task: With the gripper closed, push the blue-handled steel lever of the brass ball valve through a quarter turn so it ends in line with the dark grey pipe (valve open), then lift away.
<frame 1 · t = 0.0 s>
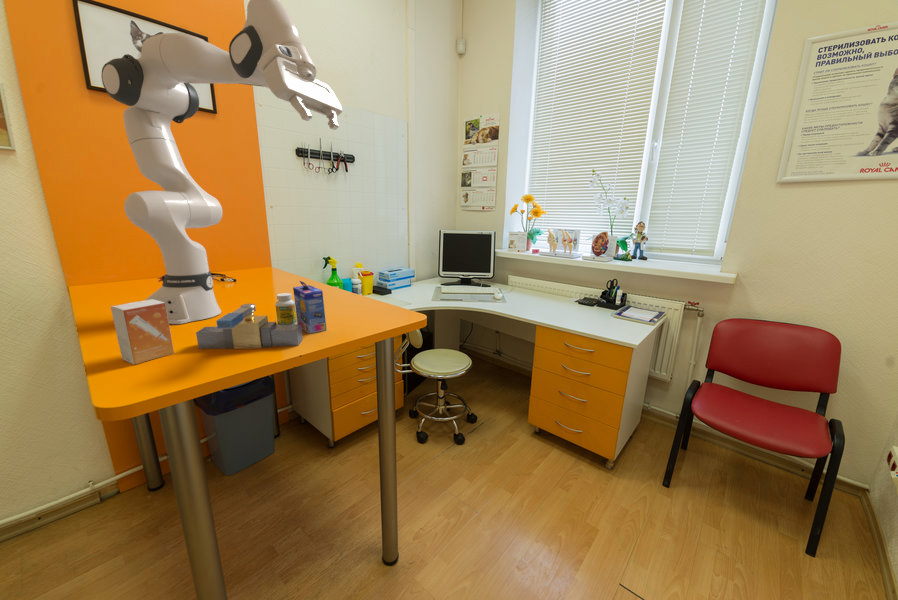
hand: (322, 123, 83), 54 cm above the table, tool tilted 30°, fingers open, 8 cm apart
ink cartridge box: (311, 328, 106), on the table
supplement bottle: (287, 325, 109), on the table
lever: (238, 314, 85), point 10 cm above the table, hinge at 0.0°
small box: (149, 357, 84), on the table
valve pipe: (252, 344, 93), on the table
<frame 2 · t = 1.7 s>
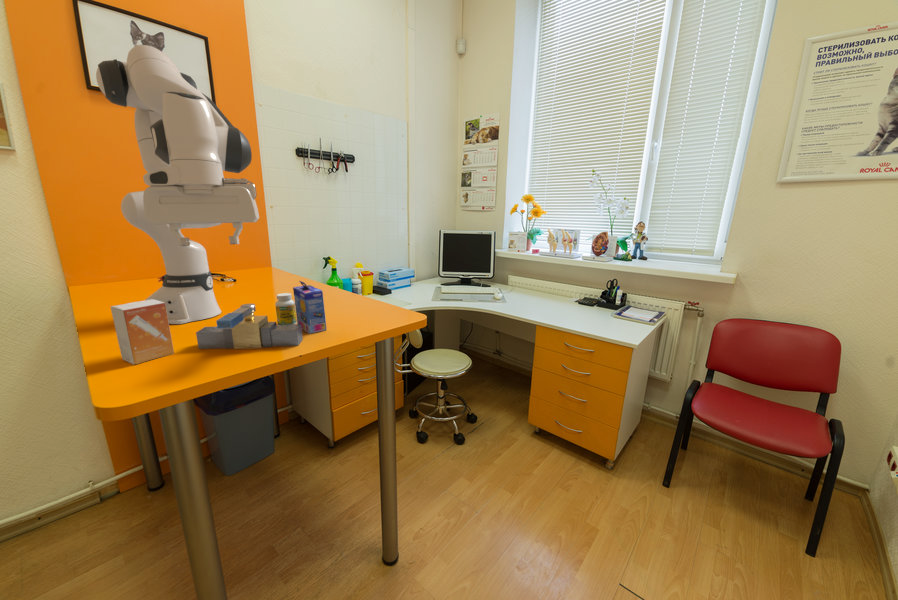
hand: (210, 245, 76), 27 cm above the table, tool pointing down, fingers open, 8 cm apart
nothing on the table moved.
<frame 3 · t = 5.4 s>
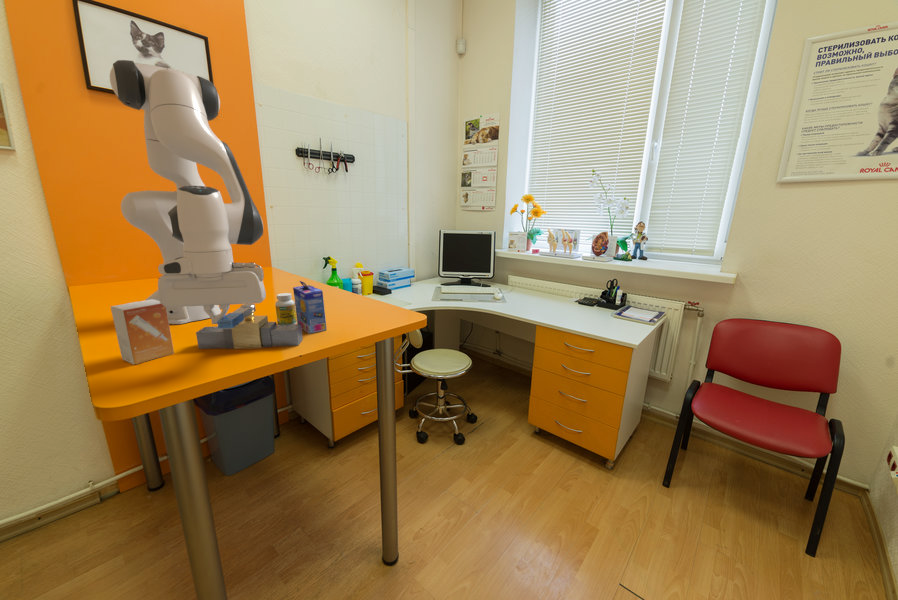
hand: (219, 323, 81), 9 cm above the table, tool pointing down, fingers closed
lever: (238, 314, 85), point 10 cm above the table, hinge at 0.8°, touching gripper
everything else where it was.
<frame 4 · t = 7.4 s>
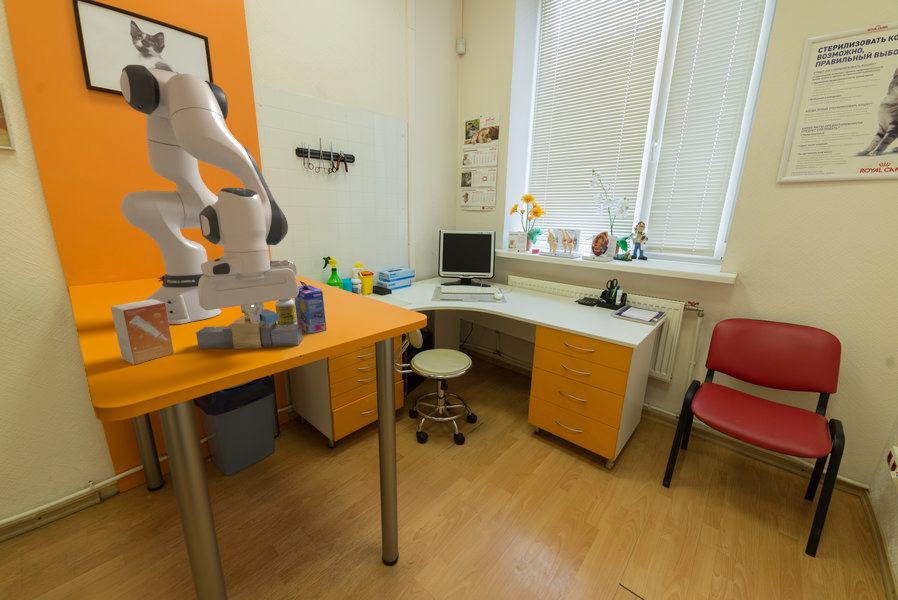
hand: (255, 321, 83), 9 cm above the table, tool pointing down, fingers closed
lever: (258, 312, 87), point 10 cm above the table, hinge at 43.5°, touching gripper
everything else where it was.
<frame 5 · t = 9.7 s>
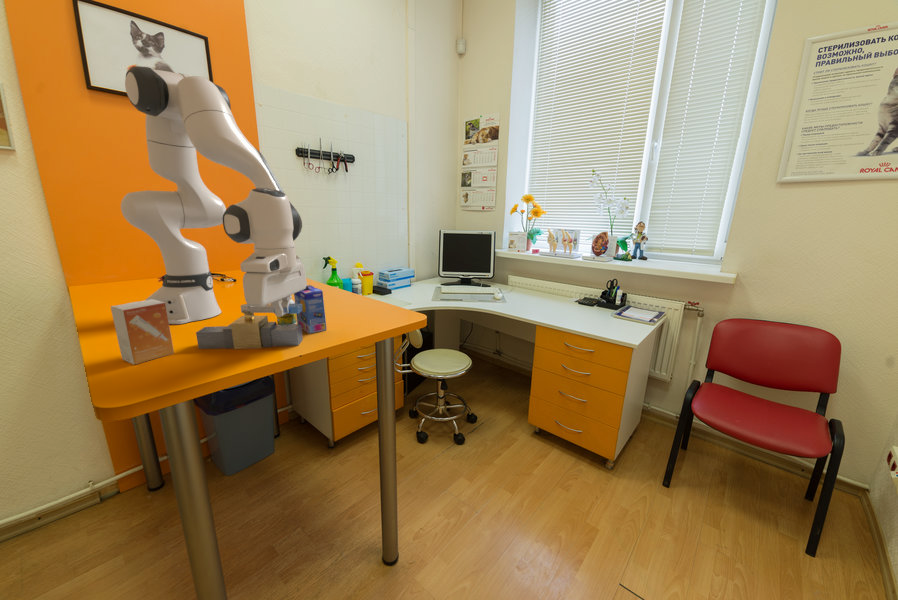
hand: (282, 314, 88), 9 cm above the table, tool pointing down, fingers closed
lever: (271, 308, 91), point 10 cm above the table, hinge at 85.1°
everything else where it was.
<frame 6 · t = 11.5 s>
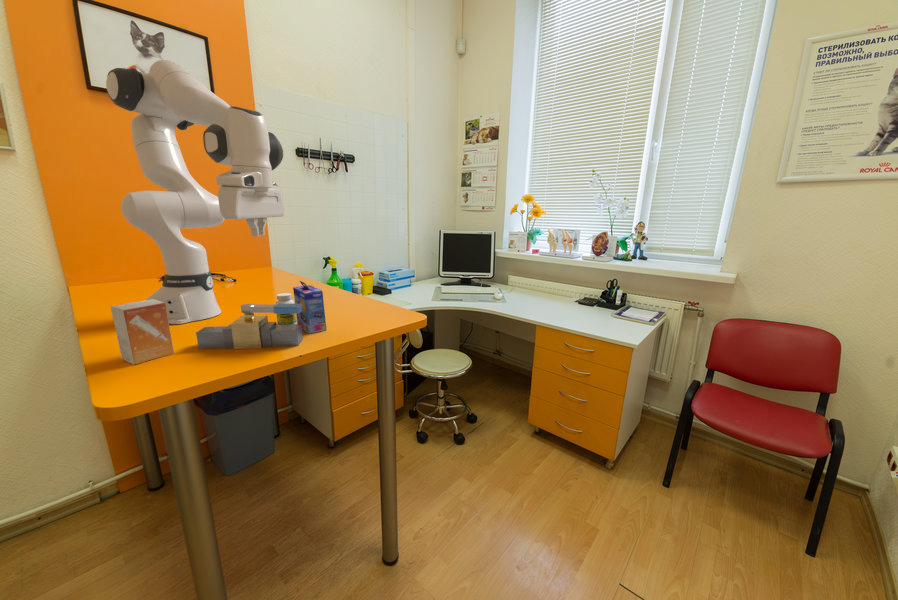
hand: (258, 235, 92), 28 cm above the table, tool pointing down, fingers closed
nothing on the table moved.
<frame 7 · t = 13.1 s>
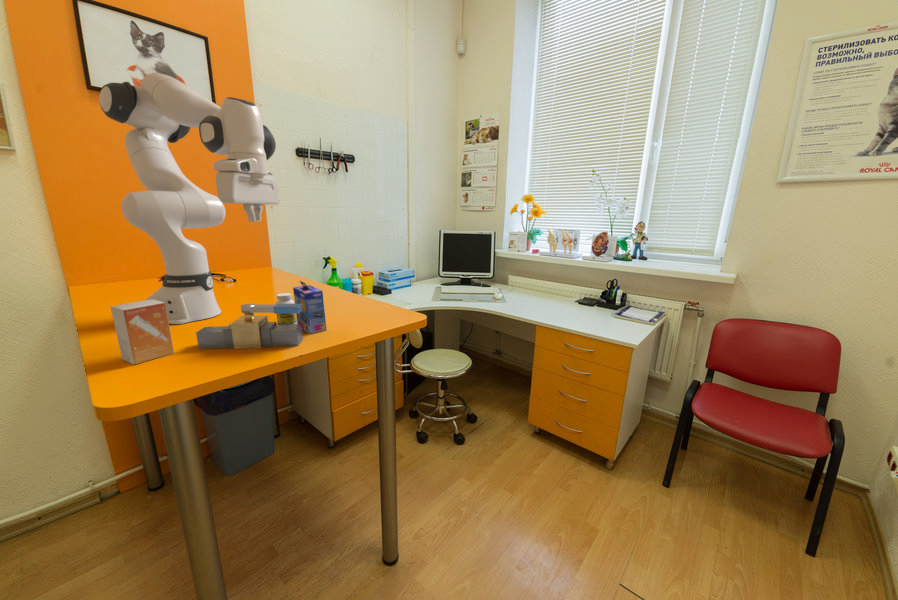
hand: (255, 221, 96), 31 cm above the table, tool pointing down, fingers closed
nothing on the table moved.
at the end: lever at +85° (first picture: +0°); the gripper is holding nothing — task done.
